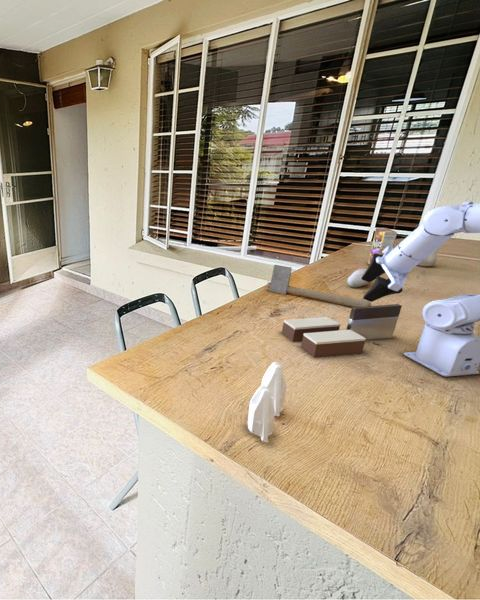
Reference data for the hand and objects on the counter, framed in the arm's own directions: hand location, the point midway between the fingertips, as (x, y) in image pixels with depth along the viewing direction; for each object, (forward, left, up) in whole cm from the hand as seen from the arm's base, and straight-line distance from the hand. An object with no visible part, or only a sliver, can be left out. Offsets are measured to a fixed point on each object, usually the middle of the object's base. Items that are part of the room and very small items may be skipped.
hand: (366, 289), depth 90 cm
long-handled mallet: (+23, -5, -12) cm, 26 cm away
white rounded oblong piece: (+33, -30, -12) cm, 46 cm away
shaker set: (-30, +42, -12) cm, 53 cm away
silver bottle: (+48, -69, -12) cm, 84 cm away
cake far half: (-1, +13, -12) cm, 18 cm away
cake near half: (-9, +13, -12) cm, 20 cm away
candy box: (+51, -52, -12) cm, 73 cm away
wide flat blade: (-5, 0, -12) cm, 13 cm away
